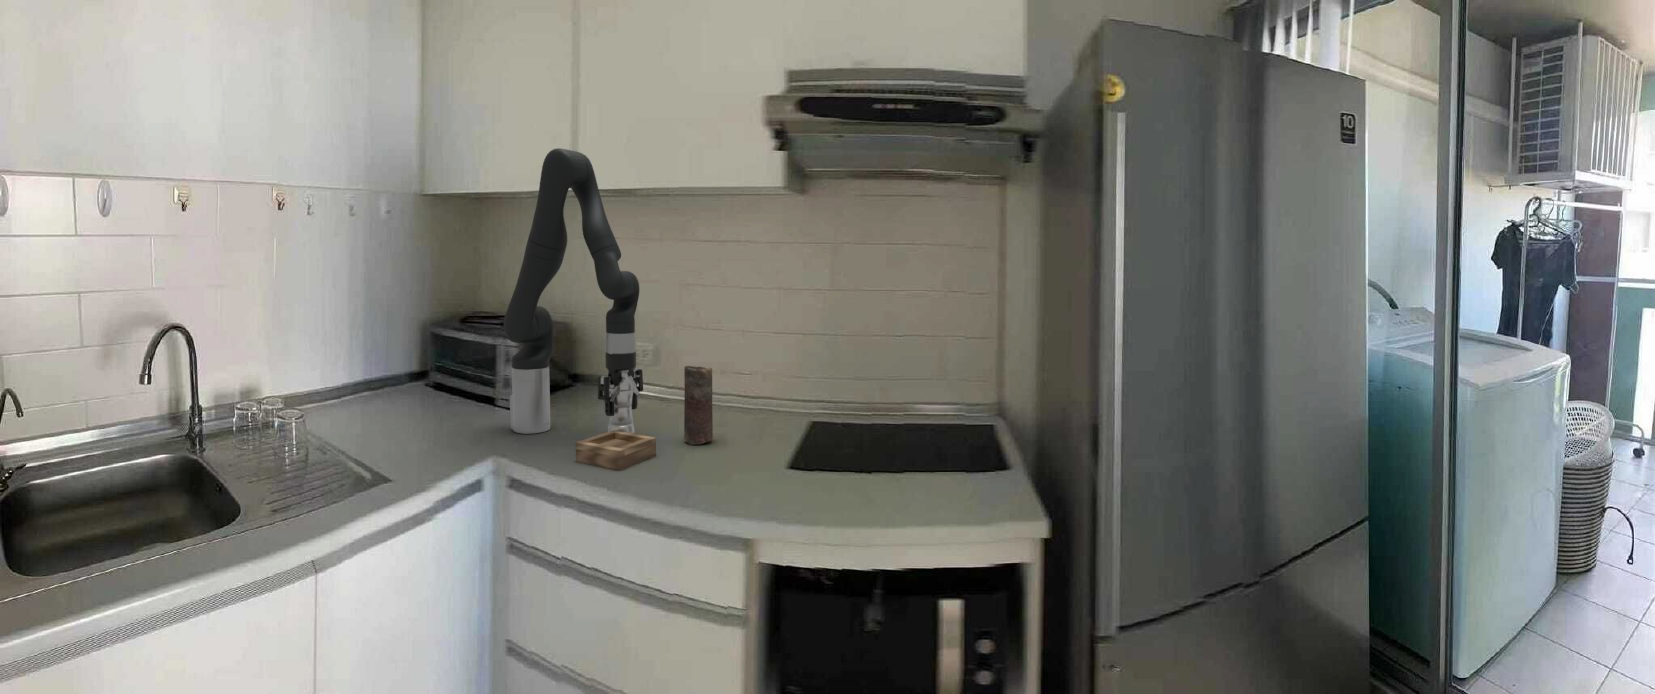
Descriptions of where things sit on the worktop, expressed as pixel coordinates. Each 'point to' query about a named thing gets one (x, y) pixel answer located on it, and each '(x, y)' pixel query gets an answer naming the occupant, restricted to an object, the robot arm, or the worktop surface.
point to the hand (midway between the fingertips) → (621, 412)
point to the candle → (698, 405)
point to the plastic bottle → (623, 406)
